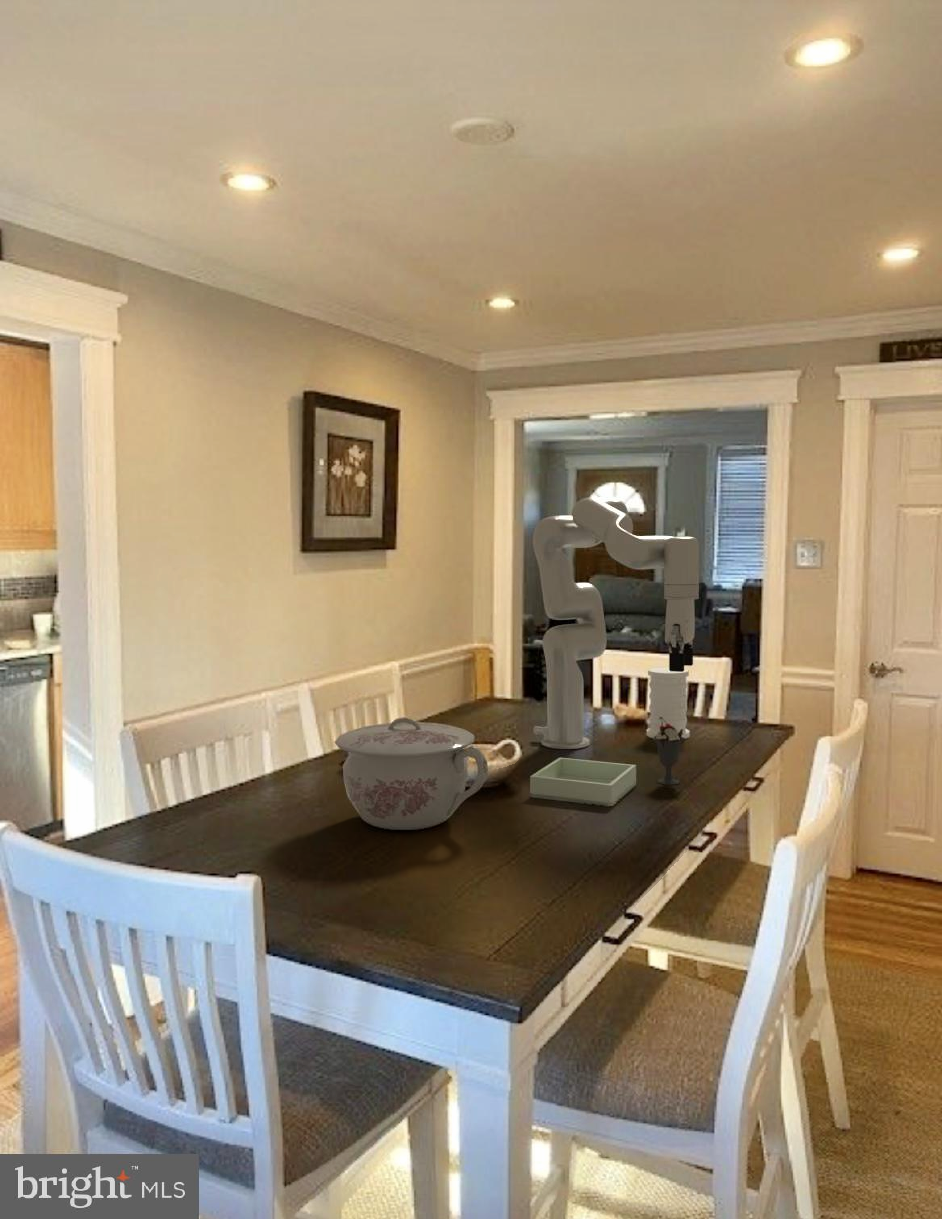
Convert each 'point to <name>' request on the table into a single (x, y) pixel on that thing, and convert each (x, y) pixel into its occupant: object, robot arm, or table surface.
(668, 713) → the decorative container
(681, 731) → the sundae
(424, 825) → the chamber pot
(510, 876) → the table surface
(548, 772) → the box
